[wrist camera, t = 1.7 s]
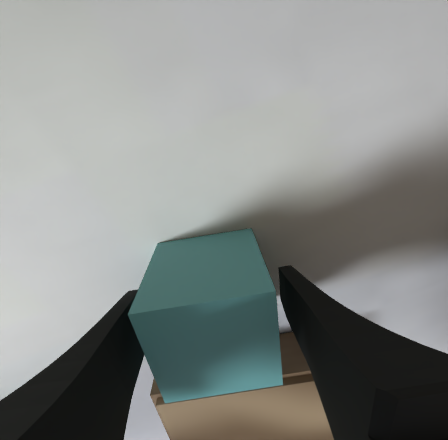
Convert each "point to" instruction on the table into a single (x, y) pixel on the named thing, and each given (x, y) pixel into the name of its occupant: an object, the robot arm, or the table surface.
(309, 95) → the table surface
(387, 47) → the table surface
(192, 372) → the teal cube
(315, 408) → the walnut plinth
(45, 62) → the table surface
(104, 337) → the robot arm
